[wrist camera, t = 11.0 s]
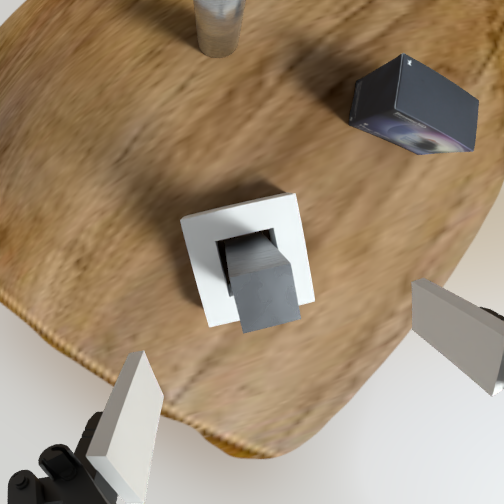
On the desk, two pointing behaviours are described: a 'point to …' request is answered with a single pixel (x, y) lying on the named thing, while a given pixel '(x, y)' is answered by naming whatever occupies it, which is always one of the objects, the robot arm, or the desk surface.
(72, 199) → the desk surface
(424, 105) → the small box
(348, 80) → the desk surface
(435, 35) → the desk surface
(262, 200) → the socket block
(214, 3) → the round bit
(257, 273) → the square bit
